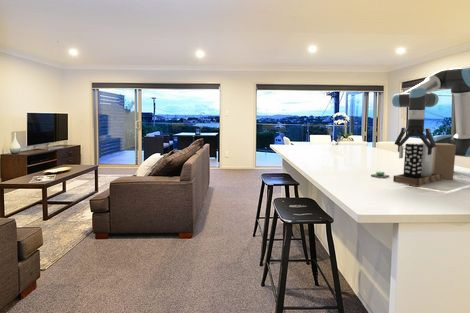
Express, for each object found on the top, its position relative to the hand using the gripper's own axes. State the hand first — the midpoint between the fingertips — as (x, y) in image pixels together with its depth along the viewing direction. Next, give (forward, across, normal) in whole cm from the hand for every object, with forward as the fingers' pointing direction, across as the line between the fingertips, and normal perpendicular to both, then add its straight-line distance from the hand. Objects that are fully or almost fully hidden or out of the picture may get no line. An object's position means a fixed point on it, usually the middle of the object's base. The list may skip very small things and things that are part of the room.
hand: (413, 159), depth 184 cm
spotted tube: (+12, 0, -1) cm, 12 cm away
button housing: (+13, -18, 0) cm, 22 cm away
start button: (+12, -18, 0) cm, 22 cm away
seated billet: (+12, 0, +12) cm, 17 cm away
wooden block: (+13, +3, +26) cm, 29 cm away
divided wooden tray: (+13, 0, +6) cm, 14 cm away
